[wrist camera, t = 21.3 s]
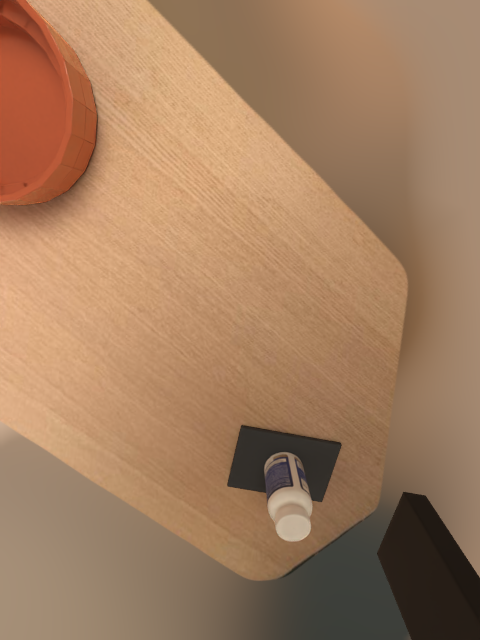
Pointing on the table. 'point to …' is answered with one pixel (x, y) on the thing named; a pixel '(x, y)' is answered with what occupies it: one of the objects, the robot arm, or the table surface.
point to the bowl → (40, 109)
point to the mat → (265, 443)
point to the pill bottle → (288, 496)
